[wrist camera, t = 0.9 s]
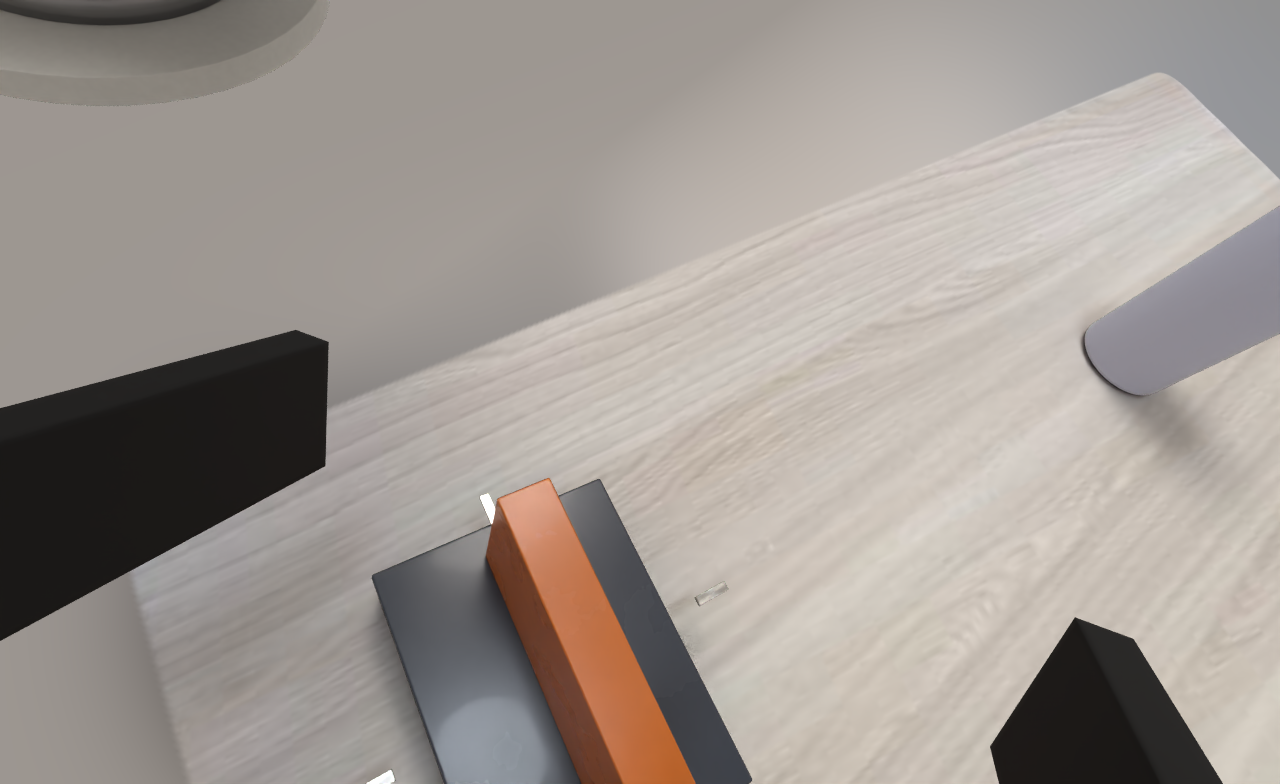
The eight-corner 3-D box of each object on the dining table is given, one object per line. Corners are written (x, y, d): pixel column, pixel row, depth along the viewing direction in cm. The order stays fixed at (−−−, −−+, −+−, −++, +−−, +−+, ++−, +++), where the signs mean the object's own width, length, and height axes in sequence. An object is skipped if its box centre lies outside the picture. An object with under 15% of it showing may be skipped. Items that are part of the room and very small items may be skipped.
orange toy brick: (484, 555, 22) (496, 495, 16) (525, 536, 23) (551, 473, 17) (608, 847, 19) (675, 899, 13) (651, 816, 20) (732, 852, 14)
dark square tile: (299, 597, 23) (276, 577, 20) (622, 462, 29) (642, 431, 26) (434, 1032, 19) (431, 1092, 16) (781, 764, 25) (828, 769, 22)
